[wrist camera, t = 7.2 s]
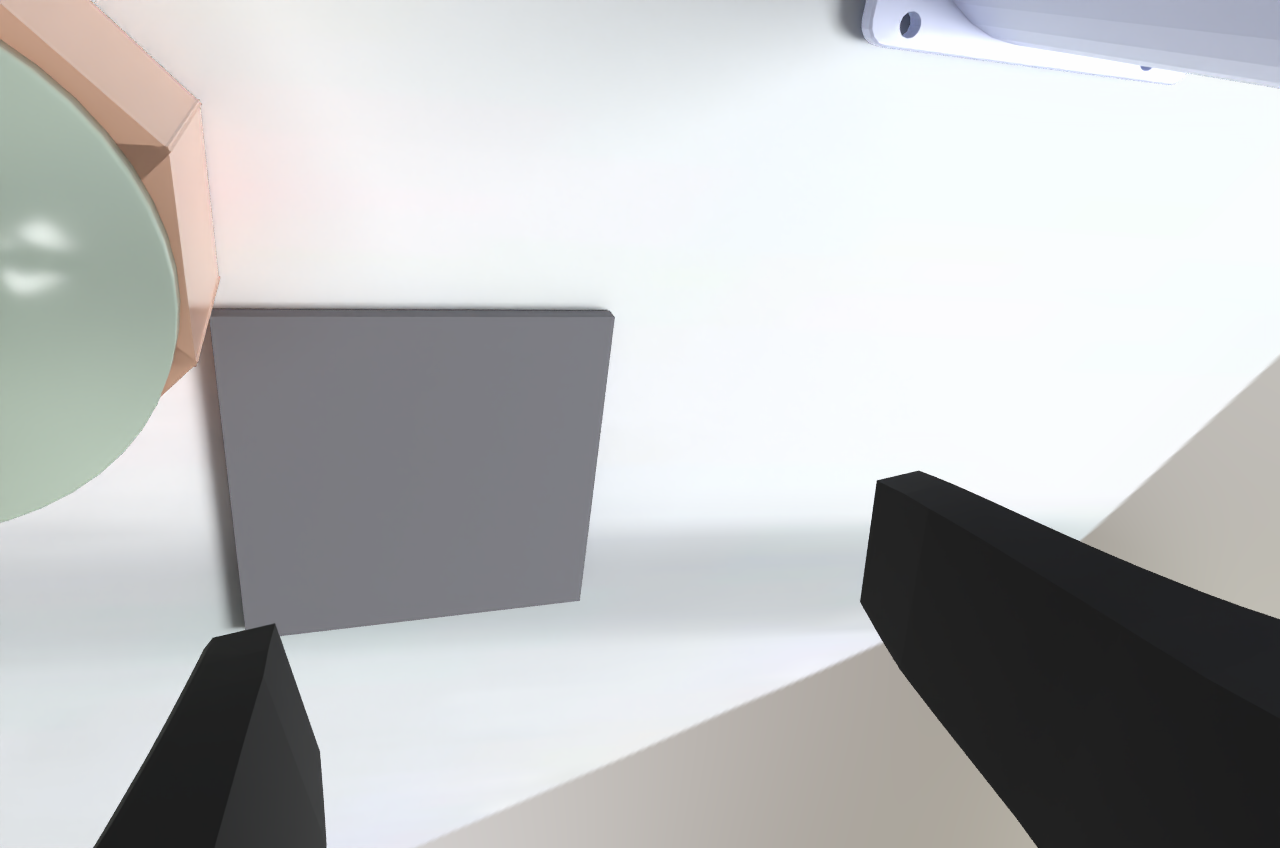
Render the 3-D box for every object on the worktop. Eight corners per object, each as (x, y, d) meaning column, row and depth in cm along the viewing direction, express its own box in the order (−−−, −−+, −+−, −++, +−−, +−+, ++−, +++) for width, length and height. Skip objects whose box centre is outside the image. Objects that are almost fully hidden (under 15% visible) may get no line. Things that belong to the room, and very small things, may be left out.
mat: (609, 310, 20) (614, 317, 19) (575, 591, 24) (579, 600, 23) (210, 309, 17) (209, 316, 17) (247, 628, 21) (246, 640, 20)
